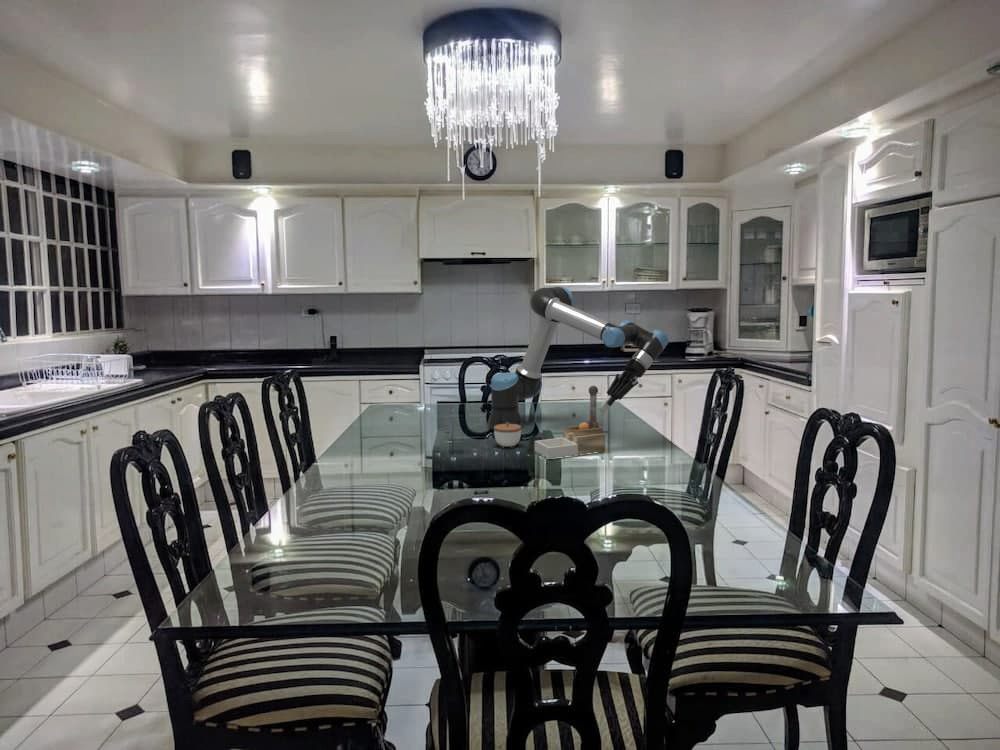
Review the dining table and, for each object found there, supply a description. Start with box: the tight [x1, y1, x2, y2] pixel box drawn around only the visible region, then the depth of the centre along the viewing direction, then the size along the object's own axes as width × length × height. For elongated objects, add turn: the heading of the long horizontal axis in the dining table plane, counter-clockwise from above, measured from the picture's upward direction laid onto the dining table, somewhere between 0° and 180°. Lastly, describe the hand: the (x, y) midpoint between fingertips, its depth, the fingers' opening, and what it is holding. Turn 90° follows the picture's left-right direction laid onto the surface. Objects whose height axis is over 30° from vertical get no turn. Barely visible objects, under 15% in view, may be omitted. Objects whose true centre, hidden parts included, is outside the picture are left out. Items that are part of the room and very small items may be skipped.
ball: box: [578, 422, 589, 430], centre depth 277 cm, size 4×4×4 cm
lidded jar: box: [493, 422, 522, 447], centre depth 286 cm, size 11×11×9 cm
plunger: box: [587, 385, 600, 429], centre depth 277 cm, size 5×4×18 cm
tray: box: [534, 437, 578, 458], centre depth 273 cm, size 12×12×4 cm
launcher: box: [562, 425, 606, 456], centre depth 277 cm, size 11×12×9 cm
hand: (601, 410), depth 278 cm, fingers closed
